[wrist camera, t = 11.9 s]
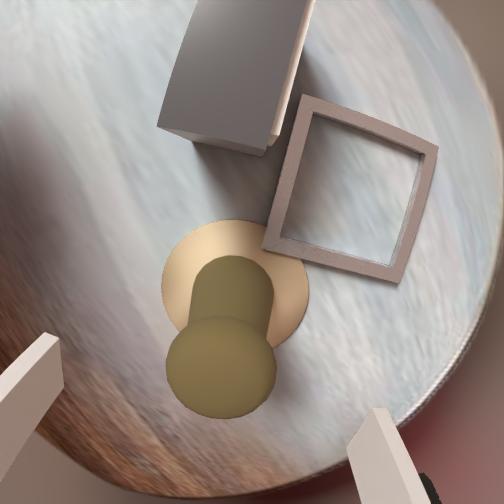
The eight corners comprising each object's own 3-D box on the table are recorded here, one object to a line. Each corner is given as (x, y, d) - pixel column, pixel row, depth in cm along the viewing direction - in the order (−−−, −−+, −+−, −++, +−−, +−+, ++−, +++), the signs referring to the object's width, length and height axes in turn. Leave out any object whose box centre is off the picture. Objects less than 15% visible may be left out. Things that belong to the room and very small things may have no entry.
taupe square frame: (260, 245, 22) (261, 248, 22) (300, 96, 20) (302, 93, 19) (394, 279, 23) (398, 283, 22) (433, 147, 20) (438, 146, 19)
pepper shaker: (199, 333, 24) (168, 436, 13) (186, 259, 22) (132, 335, 12) (277, 326, 24) (291, 432, 13) (270, 250, 22) (284, 325, 11)
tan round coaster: (154, 335, 24) (153, 337, 24) (176, 203, 22) (175, 203, 21) (283, 366, 25) (283, 368, 25) (326, 241, 22) (327, 242, 22)
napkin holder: (191, 141, 20) (156, 126, 13) (228, 18, 18) (217, -43, 10) (267, 158, 21) (275, 152, 13) (301, 34, 18) (321, -23, 10)
